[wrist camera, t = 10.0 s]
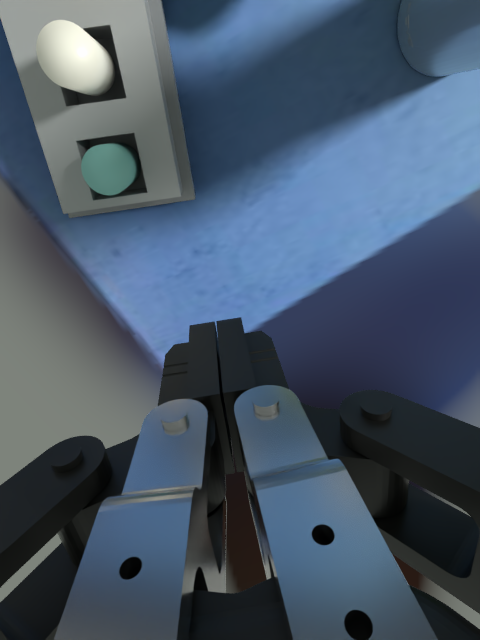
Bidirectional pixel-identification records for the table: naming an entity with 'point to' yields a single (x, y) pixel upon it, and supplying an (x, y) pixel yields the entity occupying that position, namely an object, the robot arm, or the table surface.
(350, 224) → the table surface
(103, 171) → the button teal
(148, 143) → the grey rectangular block
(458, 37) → the robot arm
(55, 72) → the cream egg
